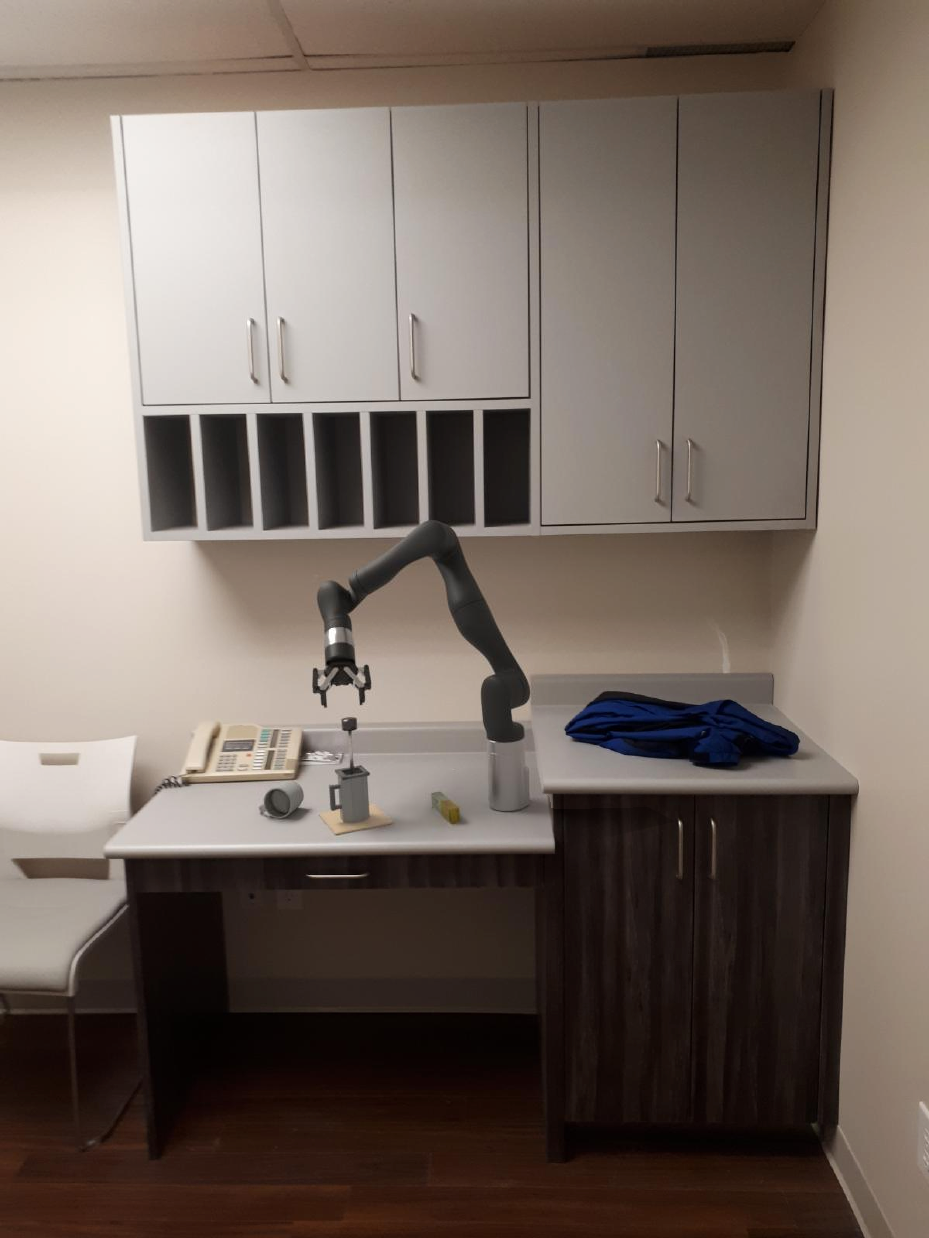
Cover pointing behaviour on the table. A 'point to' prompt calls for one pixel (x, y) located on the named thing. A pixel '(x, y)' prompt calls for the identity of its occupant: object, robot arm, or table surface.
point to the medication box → (445, 807)
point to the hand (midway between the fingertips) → (343, 704)
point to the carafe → (352, 804)
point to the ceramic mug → (282, 799)
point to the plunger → (350, 737)
